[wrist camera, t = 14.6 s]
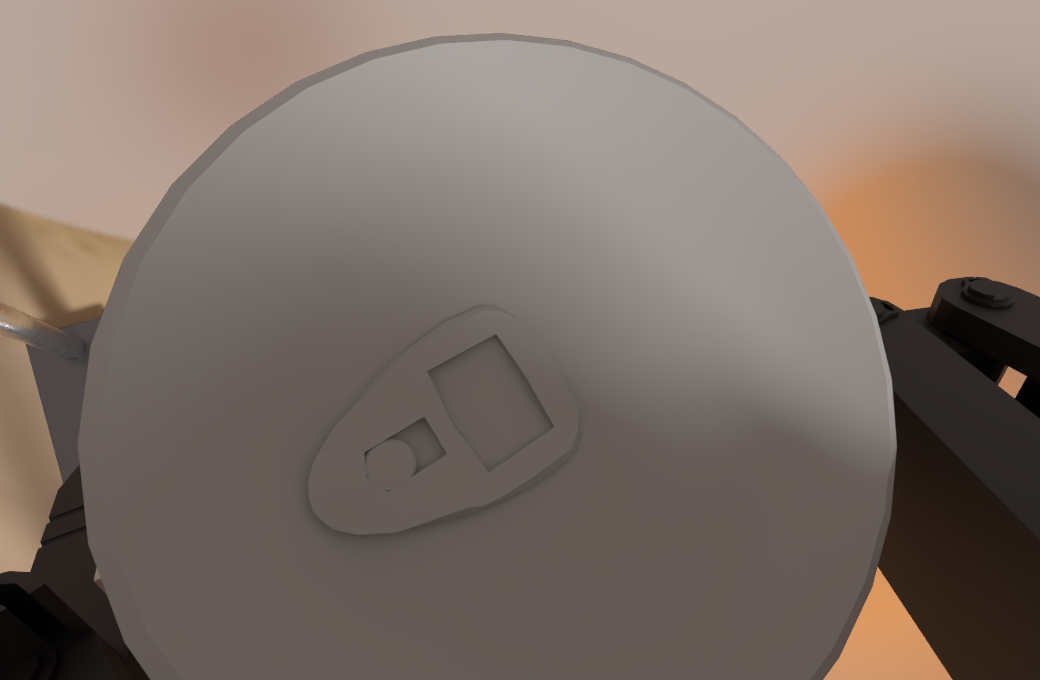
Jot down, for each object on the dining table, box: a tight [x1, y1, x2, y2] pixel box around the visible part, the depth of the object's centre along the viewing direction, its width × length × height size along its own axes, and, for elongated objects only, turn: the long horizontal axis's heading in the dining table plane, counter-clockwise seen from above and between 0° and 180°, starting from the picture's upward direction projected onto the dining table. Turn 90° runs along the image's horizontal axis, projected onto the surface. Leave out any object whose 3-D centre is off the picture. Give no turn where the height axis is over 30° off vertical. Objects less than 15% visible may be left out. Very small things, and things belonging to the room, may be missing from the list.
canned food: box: [78, 33, 897, 680], centre depth 10 cm, size 8×8×11 cm
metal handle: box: [0, 302, 101, 483], centre depth 17 cm, size 3×18×13 cm, turn 23°
